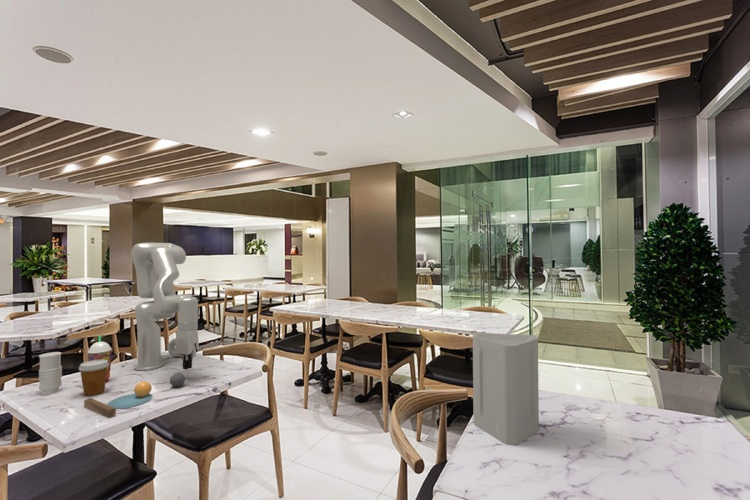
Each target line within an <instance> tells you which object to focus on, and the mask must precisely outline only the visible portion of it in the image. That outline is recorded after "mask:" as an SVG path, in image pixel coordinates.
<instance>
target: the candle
mask: <svg viewBox="0 0 750 500" xmlns="http://www.w3.org/2000/svg"><path fill="white" fill-rule="evenodd" d="M61 355H62V352H60V351H53V352H46V353H42V354H39V355H38V358H39V369H38V381H39V388H38V389H39V390H40V391H41V392H40V395H42V396H43V395H44V396H48V395H53V394H56V393H58V392H60V391H61V389H60V387H61V386H62V385H63V384H62V377H63V366H62V365H61V363H62V361H61Z"/></svg>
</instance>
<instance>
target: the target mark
mask: <svg viewBox="0 0 750 500" xmlns="http://www.w3.org/2000/svg"><path fill="white" fill-rule="evenodd" d="M152 399H153V394H151V393H149V394H148V395H147V396H145V397H138V396H137V395H136V394H135V393H130V394H125V395H121V396H119V397H117V398H114V399H112V400H110V401H109V402H108V403H107V405H109V406H111V407H114V408H116V410H121V409H122V410H123V409H128V408H133V407H138V406H141V405H143V404H146V403H147V402H149V401H151V400H152Z"/></svg>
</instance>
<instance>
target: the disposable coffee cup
mask: <svg viewBox="0 0 750 500" xmlns="http://www.w3.org/2000/svg"><path fill="white" fill-rule="evenodd" d="M108 365H109V363H108V361H107V360H104V359H102V360H92V361H88V360H87V361H85V362H81V364H80V365H79V367H78V370H79V373H80V377H81V383H82V390H83V394H84V396H86V397H93V396H97V395H100V394H103V393H104V392H105V389H106V387H105V386H106V383H107V382H106V374H107V367H108Z"/></svg>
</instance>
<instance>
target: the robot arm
mask: <svg viewBox="0 0 750 500" xmlns="http://www.w3.org/2000/svg"><path fill="white" fill-rule="evenodd" d="M186 259H187V254H186V251H185V250H184V248H182V247H181V246H179V245H176V244H173V243H170V242H140V243H136V244H134V245H133V247H132V249H131V260H132V263H133V266H134V269H135V272H136V289H137V295H138V297H139V298H141V299H153V300H148V301H142V302H139V303H138V304H137V305H136V306H135V308H134V316H135V319H136V328H137V329H136V330H137V364H135V365H134V366H133V369H134V370H135V371H152V370H156V369H159V368H162V367H163V366H165V361H166V360H168V359H171V357H172V356H171V355H170V354H161V353H162V351H161V350H162V348H161V347H162V345H161V341H162V338H161V335H162V333H161V331H162V330H161V327H160V326H159V324H157V323H156V321H158V320H164V319H165V320H166V319H170V318H173V317H174V316H175V315H176V313H177V330H176V332H175V333H176V334H175V338H176V343H175V350H176V351H177V352H179V353H180V354H181V355H182V356H181V359H182V370H185V371H187V370H189V369H192V368H193V359H194V357H197V353H198V352H199V342H200V341H199V332H198V329H199V328H198V323H199V322H198V321H199V320H198V318H199V317H198V315H199V313H198V311H199V299H198V298H197V297H195V296H191V295H189V294H187V293H184V294H176V289H175V288H176V287H175V283H174V282H175V281H176V280H177V279H179V276H180V271H179V269H178V265H182V264H184V263H185V262H186Z"/></svg>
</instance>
